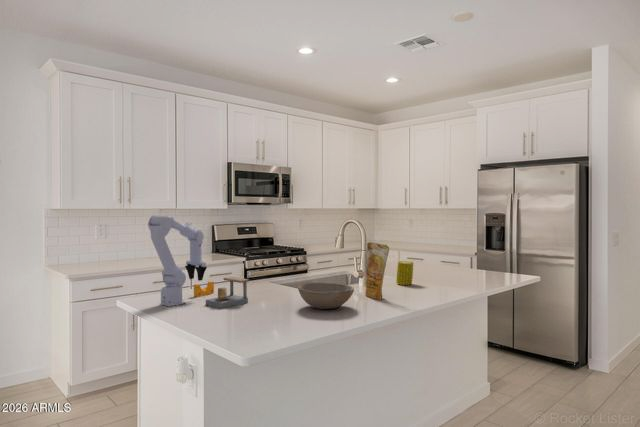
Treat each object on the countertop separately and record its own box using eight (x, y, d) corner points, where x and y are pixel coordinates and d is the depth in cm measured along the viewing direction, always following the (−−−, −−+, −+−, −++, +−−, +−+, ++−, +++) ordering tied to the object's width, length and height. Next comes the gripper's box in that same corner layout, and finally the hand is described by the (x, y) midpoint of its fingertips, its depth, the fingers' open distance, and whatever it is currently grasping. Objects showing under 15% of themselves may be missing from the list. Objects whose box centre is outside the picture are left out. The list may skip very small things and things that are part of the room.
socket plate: (222, 308, 201) (222, 283, 201) (205, 304, 210) (205, 280, 210) (248, 302, 214) (248, 279, 214) (231, 299, 222) (231, 276, 222)
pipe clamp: (208, 292, 240) (208, 281, 240) (213, 293, 238) (213, 281, 238) (191, 296, 230) (191, 284, 230) (197, 297, 228) (197, 285, 228)
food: (403, 285, 271) (415, 288, 263) (389, 282, 266) (400, 285, 257) (409, 261, 272) (420, 263, 263) (394, 257, 266) (405, 260, 258)
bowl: (321, 299, 222) (321, 279, 222) (365, 306, 205) (365, 285, 205) (285, 308, 202) (285, 287, 202) (330, 317, 185) (330, 294, 185)
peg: (228, 304, 210) (228, 288, 210) (221, 306, 207) (221, 289, 207) (223, 303, 212) (222, 287, 212) (216, 305, 209) (216, 288, 209)
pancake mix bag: (372, 293, 238) (372, 241, 237) (390, 300, 220) (390, 244, 219) (361, 294, 235) (361, 242, 235) (378, 301, 217) (378, 245, 217)
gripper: (210, 253, 224) (210, 280, 225) (194, 251, 234) (194, 277, 234) (199, 254, 219) (199, 281, 219) (182, 252, 228) (182, 278, 228)
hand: (195, 279), depth 226 cm, fingers open, 7 cm apart
